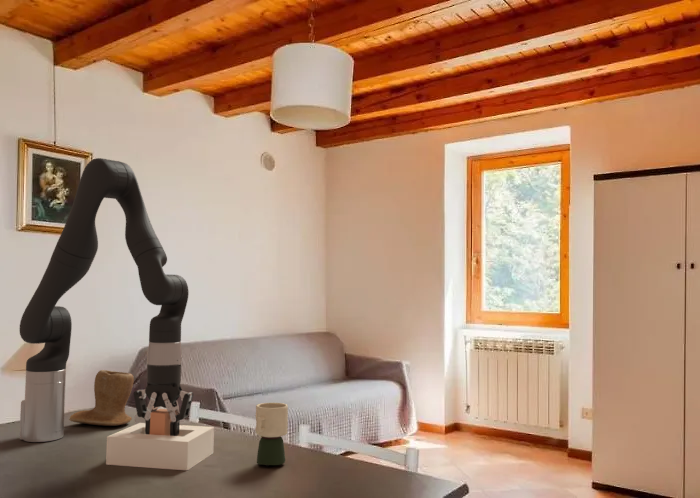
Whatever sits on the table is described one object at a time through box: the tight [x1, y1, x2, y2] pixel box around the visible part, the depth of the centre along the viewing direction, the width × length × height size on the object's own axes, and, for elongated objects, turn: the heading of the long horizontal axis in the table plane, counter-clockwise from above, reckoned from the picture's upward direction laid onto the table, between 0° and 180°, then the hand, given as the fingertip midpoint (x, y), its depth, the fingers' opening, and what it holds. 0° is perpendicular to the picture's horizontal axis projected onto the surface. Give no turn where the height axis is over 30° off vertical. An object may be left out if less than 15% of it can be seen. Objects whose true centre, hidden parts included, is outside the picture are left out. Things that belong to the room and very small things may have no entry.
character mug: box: [255, 402, 289, 468], centre depth 138 cm, size 11×7×13 cm, turn 154°
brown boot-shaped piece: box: [68, 369, 135, 427], centre depth 175 cm, size 15×12×15 cm
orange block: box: [150, 409, 172, 436], centre depth 142 cm, size 4×4×10 cm
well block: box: [105, 423, 215, 471], centre depth 142 cm, size 19×14×6 cm
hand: (162, 436), depth 142 cm, fingers open, 5 cm apart
